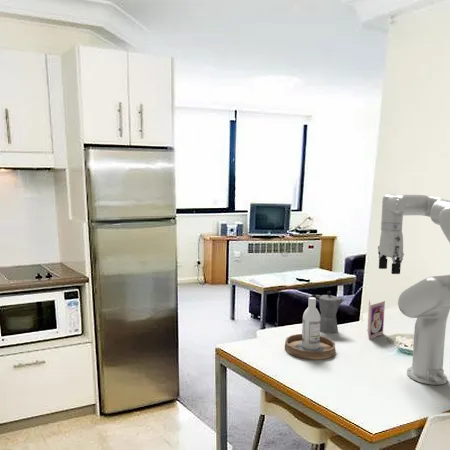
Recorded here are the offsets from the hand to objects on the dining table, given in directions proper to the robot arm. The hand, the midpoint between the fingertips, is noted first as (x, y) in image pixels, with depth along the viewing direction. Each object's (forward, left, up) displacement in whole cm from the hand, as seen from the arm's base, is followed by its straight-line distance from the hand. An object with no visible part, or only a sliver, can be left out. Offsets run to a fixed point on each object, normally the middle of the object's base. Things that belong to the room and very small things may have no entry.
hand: (389, 271), depth 162 cm
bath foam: (+7, +28, -32) cm, 43 cm away
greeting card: (+22, -5, -34) cm, 40 cm away
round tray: (+7, +28, -33) cm, 44 cm away
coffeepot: (+30, +13, -34) cm, 47 cm away
